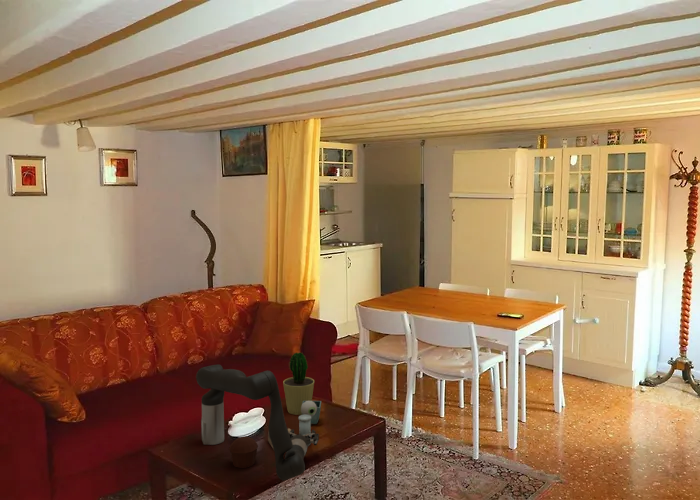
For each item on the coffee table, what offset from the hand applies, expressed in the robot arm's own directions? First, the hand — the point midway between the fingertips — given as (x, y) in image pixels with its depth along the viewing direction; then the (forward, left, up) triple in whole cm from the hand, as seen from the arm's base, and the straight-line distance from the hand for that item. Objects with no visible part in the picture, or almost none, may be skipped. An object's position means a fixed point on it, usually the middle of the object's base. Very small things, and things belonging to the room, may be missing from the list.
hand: (303, 431), depth 245 cm
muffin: (-26, -4, -8) cm, 27 cm away
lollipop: (+7, +14, -8) cm, 18 cm away
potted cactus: (+11, +43, -8) cm, 45 cm away
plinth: (-7, +8, -7) cm, 13 cm away
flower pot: (+12, +26, -8) cm, 30 cm away
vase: (+2, +4, -7) cm, 9 cm away
